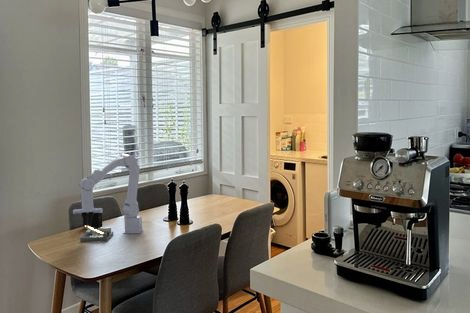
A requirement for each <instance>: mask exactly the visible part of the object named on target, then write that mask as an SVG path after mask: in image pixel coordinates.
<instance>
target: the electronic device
mask: <svg viewBox="0 0 470 313" xmlns="http://www.w3.org/2000/svg"><path fill="white" fill-rule="evenodd" d="M88 214H89V213H88ZM82 225H83V228H84V227H85V226H86V224H85V221H84V219H83V218H82ZM88 226H89V220H88ZM90 227H92V228H97V229H96V230H99V229H98V228H100V227H103V212H102V213H94V215H93V218H92V221H91V226H90Z"/></svg>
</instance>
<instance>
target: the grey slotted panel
mask: <svg viewBox="0 0 470 313" xmlns="http://www.w3.org/2000/svg"><path fill="white" fill-rule="evenodd" d="M98 230H99V231H101V232H103V236H102V235H100V234H98V233H96V232H93V233H92V234H87V233H86V232H85V233H84V234H83V235H82V236H80V242H81V243H83V242H86V243H87V242H88V243H89V242H97V241H101V242H108V241H109V240H110V239H112V237H113V236H114V231H112V227H111V226H110V227H109V226H106V227H105V226H102V227H100V228H99V229H98ZM107 234H108V235H107Z"/></svg>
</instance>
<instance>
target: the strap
mask: <svg viewBox="0 0 470 313" xmlns="http://www.w3.org/2000/svg"><path fill="white" fill-rule="evenodd" d="M83 228H84V229H87V230H88V229H89V230H91V231H93V232H96V233H98V234H100V235H102V236H103V232H101V231H99V229H94V228H92V227H89V226H88V227H86V226H85V227H83ZM107 235H108V234H107Z"/></svg>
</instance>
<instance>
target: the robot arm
mask: <svg viewBox="0 0 470 313" xmlns="http://www.w3.org/2000/svg"><path fill="white" fill-rule="evenodd" d="M118 167H125V168H126V169H127V170H128V172H129V174H128V175H129V177H128V182H127V184H128V186H127V193H126V194H127V195H126V199H125V200H124V203H123V205H122V207H121V209H122V210H121V211H122V213H123V214H124V218H123V219H124V231H123V232H122V234H140V233H141V232H142V231H143V218H142V216H140V215H139V214H140V208H139V202H138V200H137V198H138V189H139V180H140V165H139V163H138V159H137V158H136V157H135V156H134V155H132V154H127V153H122V154H120V155H119V156H117V157H116V158H115V159H113V160H112V161H111V162H109V163H108V164H107V165H106V166H104V167H103V168H102V169H94V170H93V172H91V174H90V175H86V177H85V178H82V179H80V181H79V183H78V186H79V187H80V189H81V190H80V191H81V193H80V196H81V198H80V199H81V208H78V209H77V208H75V209H73V210H72V214H74V215H76V214H81V218H82V220H83V219H84V221H85V224H86V227H88V220H89V227H90V226H91V221H92V218H93V215H94V213H102V214H103V212H104V211H103V208H101V207H99V208H96V207H94V190H93V189H94V187H95V186H96V185H97V184H98V183H100V182H101V181H103V180H104V179H105V177H106V175H107V174H109V173H110V172H112V171H113V170H115V169H116V168H118ZM88 213H89V214H88Z"/></svg>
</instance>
